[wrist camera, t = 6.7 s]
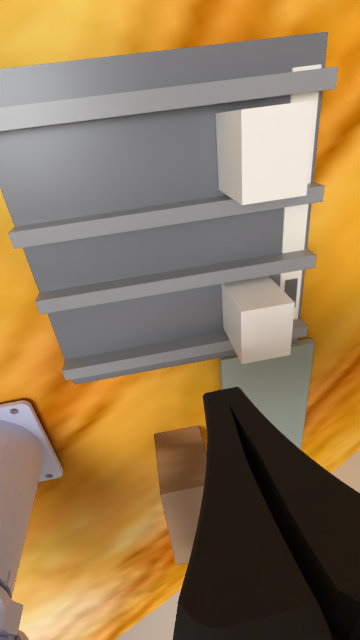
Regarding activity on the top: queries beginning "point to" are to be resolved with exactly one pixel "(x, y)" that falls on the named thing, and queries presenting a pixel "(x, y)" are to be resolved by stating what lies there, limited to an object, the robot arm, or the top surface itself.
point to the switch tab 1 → (264, 152)
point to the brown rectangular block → (181, 485)
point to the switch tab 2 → (257, 318)
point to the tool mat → (275, 386)
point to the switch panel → (150, 197)
